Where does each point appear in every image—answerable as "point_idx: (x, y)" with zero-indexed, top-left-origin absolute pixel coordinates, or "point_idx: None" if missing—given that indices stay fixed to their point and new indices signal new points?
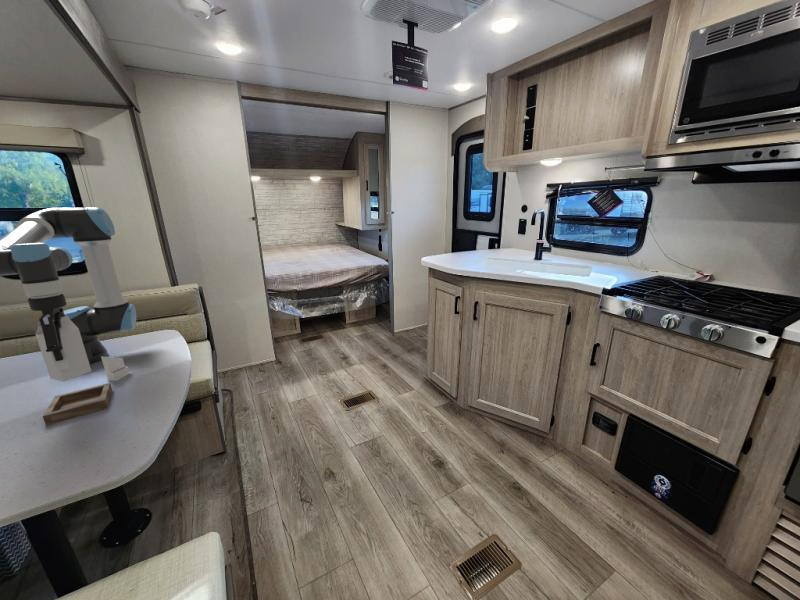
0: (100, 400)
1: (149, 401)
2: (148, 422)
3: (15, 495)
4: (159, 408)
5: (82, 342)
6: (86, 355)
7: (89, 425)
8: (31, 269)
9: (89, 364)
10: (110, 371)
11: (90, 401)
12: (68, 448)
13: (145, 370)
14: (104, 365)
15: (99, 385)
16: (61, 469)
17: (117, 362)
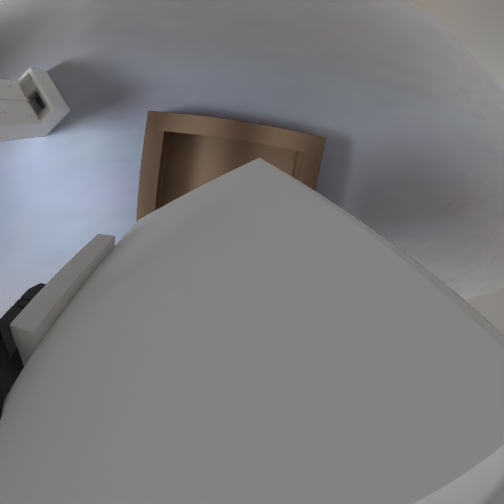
0: (316, 149)
1: (367, 42)
2: (469, 93)
3: (488, 286)
4: (427, 48)
5: (332, 202)
6: (281, 171)
7: (385, 189)
8: None
9: (265, 161)
10: (36, 120)
11: (217, 177)
12: (445, 231)
13: (59, 28)
14: (11, 136)
15: (144, 146)
16: (488, 240)
17: (8, 94)
